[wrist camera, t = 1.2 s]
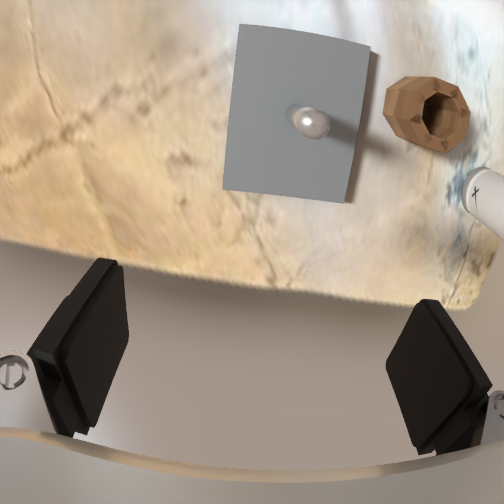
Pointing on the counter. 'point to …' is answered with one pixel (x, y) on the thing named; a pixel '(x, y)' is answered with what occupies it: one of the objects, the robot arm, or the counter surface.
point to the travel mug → (485, 198)
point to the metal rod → (308, 121)
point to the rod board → (276, 103)
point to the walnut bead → (439, 113)
